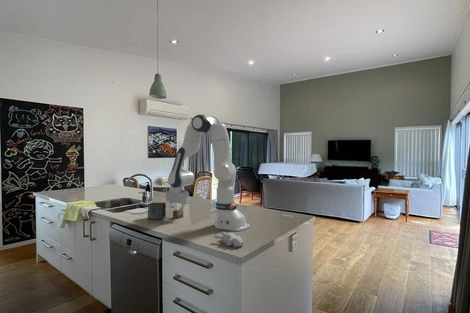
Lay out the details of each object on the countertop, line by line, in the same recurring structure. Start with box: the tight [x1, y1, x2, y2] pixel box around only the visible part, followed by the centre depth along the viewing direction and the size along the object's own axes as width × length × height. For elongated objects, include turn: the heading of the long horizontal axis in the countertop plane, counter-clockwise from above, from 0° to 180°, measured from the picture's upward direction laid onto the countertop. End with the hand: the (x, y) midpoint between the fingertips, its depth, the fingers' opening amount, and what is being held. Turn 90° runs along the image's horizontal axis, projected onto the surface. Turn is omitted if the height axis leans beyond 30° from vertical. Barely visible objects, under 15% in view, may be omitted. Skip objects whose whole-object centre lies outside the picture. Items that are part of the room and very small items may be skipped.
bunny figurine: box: [214, 231, 245, 248], centre depth 134 cm, size 10×5×15 cm
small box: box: [147, 202, 167, 221], centre depth 183 cm, size 11×6×10 cm, turn 84°
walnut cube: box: [172, 209, 184, 220], centre depth 186 cm, size 5×5×5 cm
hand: (177, 208), depth 186 cm, fingers open, 8 cm apart
